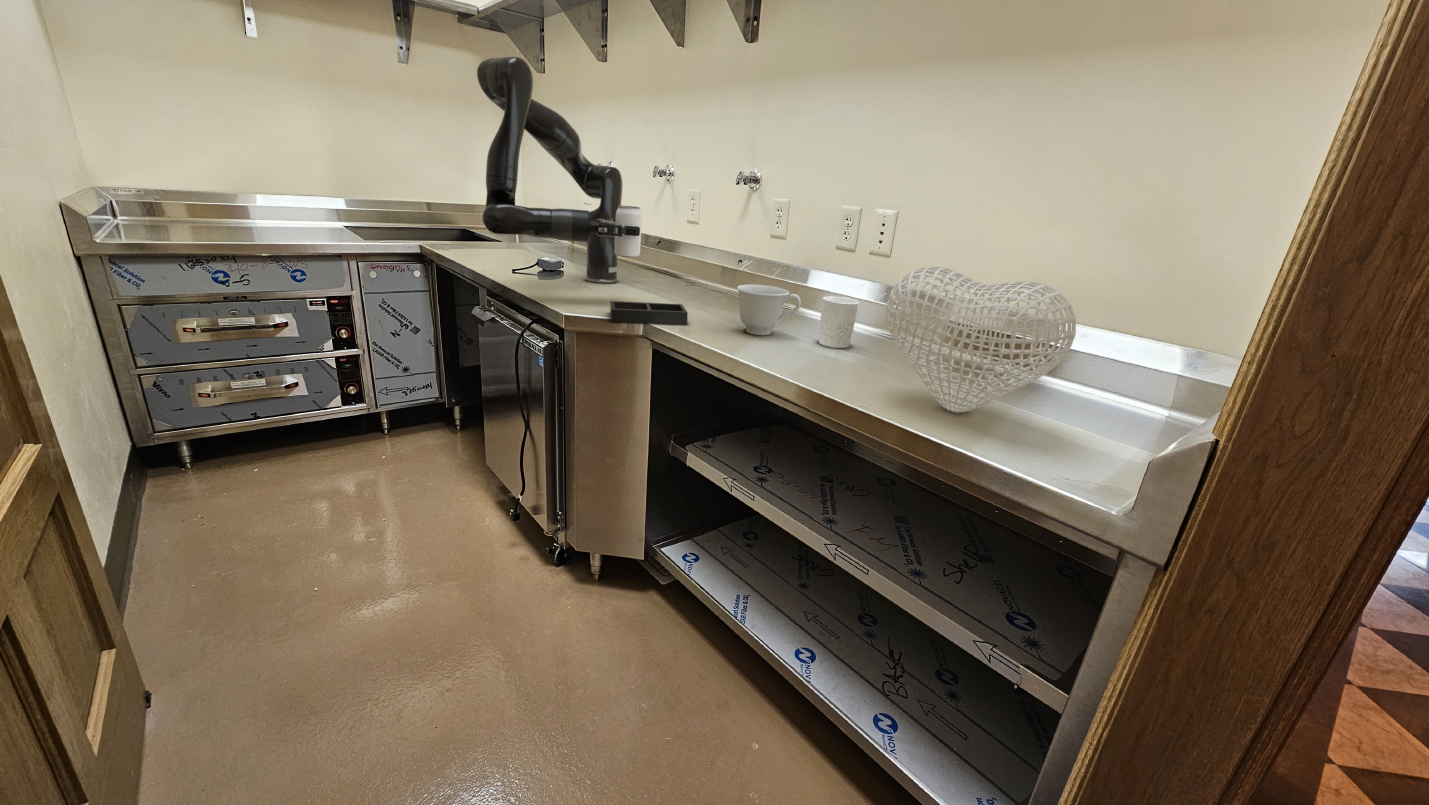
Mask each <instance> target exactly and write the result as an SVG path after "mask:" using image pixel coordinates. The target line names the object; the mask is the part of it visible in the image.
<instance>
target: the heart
mask: <svg viewBox="0 0 1429 805" xmlns="http://www.w3.org/2000/svg"><path fill="white" fill-rule="evenodd" d="M939 275H940V276H939ZM929 277H930V278H931V279H929V280H928V279H927V278H929ZM937 280H938V281H939V282H940V283H938V282H935V281H937ZM913 283H915V284H914V285H913ZM923 283H924V285H923ZM912 285H913V286H912ZM928 285H929V287H928V289H926V287H927V286H928ZM948 286H951V289H950V288H948ZM957 289H958V290H960V291H959V292H958V291H957ZM934 290H936V291H937V292H935V291H934ZM914 291H916V295H915V297H913V296H912V295H913V294H914ZM921 293H922V294H924V295H925V297H924V299H921V298H919V297H920V296H921ZM941 293H945V294H944V296H943V295H941ZM965 293H968V295H966V294H965ZM1015 294H1017V295H1015ZM1021 294H1022V295H1021ZM1038 294H1040V295H1038ZM952 295H953V297H952V298H953V299H950V297H951V296H952ZM973 295H974V296H973ZM929 297H933V298H934V300H933V302H929V301H928V299H929ZM960 299H961V300H960ZM938 300H942V301H943V303H942V305H941V306H938V305H937V303H938ZM959 300H960V302H959ZM979 301H981V302H979ZM986 301H989V303H987V304H985V303H986ZM1021 301H1022V302H1025V303H1026V305H1022V306H1021V305H1020V302H1021ZM910 302H913V305H912V307H910ZM995 302H996V303H995ZM1006 302H1007V304H1006ZM1010 302H1013V303H1012V304H1010ZM947 303H949V304H951V306H950V308H949V309H948V308H946V306H947ZM971 303H972V304H971ZM1041 303H1043V304H1044V305H1045V306H1046V307H1042V306H1040V305H1041ZM917 304H920V305H922V308H921V310H920V311H919V310H917ZM894 306H895V308H894ZM926 306H928V307H931V309H930V313H928V312H925V309H926ZM956 306H958V307H959V308H958V310H957V312H955V308H956ZM899 307H900V309H899ZM935 309H937V310H939V314H938V315H936V314H933V313H934V310H935ZM985 309H986V311H985ZM1029 309H1030V310H1035V314H1034V315H1033V314H1031V313H1030V312H1029ZM964 310H965V313H964V314H963V312H964ZM992 310H993V311H995V312H994V313H993V314H992ZM1012 310H1014V311H1015V316H1009V315H1010V313H1011V311H1012ZM1063 310H1064V312H1063ZM984 311H985V313H984ZM1001 311H1006V312H1005V313H1004V314H1003V315H1001ZM1019 311H1020V312H1019ZM899 313H900V314H899ZM905 313H906V317H905ZM943 313H946V314H947V316H946V318H942V316H943ZM1050 313H1051V314H1052V317H1053V318H1049V314H1050ZM1057 313H1059V317H1060V318H1058V317H1057ZM1064 313H1065V315H1064ZM917 314H918V318H917ZM971 314H972V315H971ZM1023 314H1025V315H1024V316H1022V315H1023ZM952 316H954V319H953V321H952V322H951V318H952ZM1065 316H1066V317H1065ZM912 318H913V320H912ZM925 318H927V320H925ZM960 319H962V320H961V321H960ZM885 320H886V324H887V329H888V331H889V334H890V335H891V338H892V340H893V341H894V343H895V345H896V347H897V348H898V350H899V351H900V353H901V354H902V355H903V357H904V358H905V360H906V361H907V362H908V363H909V365H910V366H911V367H912V369H913V370H914V372H915V373H916V374H917V376H918V377H919V378H920V380H921V382H923V384H924V385H925V387H926V388H927V390H928V391H929V392H930V394H931V395H932V396H933V398H934V399H935V400H936V401H937V403H938V404H940V405H941V407H943V409H945V410H947V411H949V412H952V413H965V412H969V411H972V410H974V409H977V408H980V407H982V406H984V405H986V404H988V403H990V402H992V401H994V400H996V399H998V398H1000V397H1003V396H1005V395H1007V394H1009V393H1012V392H1014V391H1016V390H1018V389H1021V388H1022V387H1025V386H1027V385H1029V384H1031V383H1032V382H1035V381H1037V380H1038V379H1040V378H1042V377H1043V376H1045V375H1047V374H1049V373H1050V371H1052V370H1053V369H1054V368H1055V367H1056V366H1058V365H1059V364H1060V363H1061V362H1062V360H1064V358H1065V357H1066V355H1067V354H1068V353H1069V352H1070V350H1071V348H1072V345H1073V343H1074V340H1075V337H1076V333H1077V318H1076V314H1075V311H1074V310H1073V307H1072V305H1071V303H1070V301H1069V300H1068V299H1067V298H1066V297H1065V296H1064V295H1063V294H1062V293H1061V292H1060V291H1059V290H1057V289H1055V288H1053V287H1051V286H1049V285H1047V284H1044V283H1040V282H1034V281H1011V282H1005V283H1004V282H1003V283H995V284H993V283H992V284H987V283H986V284H984V283H982V282H978V281H976V280H974V279H972V278H970V277H968V276H966V275H965V274H963V273H960V272H958V271H957V270H954V269H951V268H947V267H940V266H927V267H922V268H921V267H920V268H918V269H914V270H913V271H911V272H909V273H907V274H905V275H904V276H903V277H901V278H900V280H898V281H897V283H896V284H895V285H894V286H893V287H892V289H891V291H890V293H889V296H888V299H887V301H886V308H885ZM931 320H932V321H935V322H932V321H931ZM986 320H987V322H986ZM1038 320H1039V321H1040V320H1041V321H1043V326H1038ZM977 321H978V322H977ZM995 321H996V323H995ZM1000 321H1001V324H1000V326H999V322H1000ZM1009 321H1013V323H1012V326H1011V327H1008V324H1009ZM1029 321H1032V323H1033V327H1027V324H1028V322H1029ZM959 322H960V323H959ZM968 322H969V323H968ZM1018 322H1019V323H1023V327H1018ZM1050 322H1053V323H1051V324H1050ZM994 323H995V326H994ZM929 324H930V325H931V326H930V327H928V326H929ZM939 324H941V326H940V327H939ZM912 325H914V326H915V328H914V330H913V327H912ZM1004 325H1005V327H1004ZM948 327H949V328H948ZM897 328H898V329H897ZM920 328H921V329H922V330H921V329H920ZM933 328H934V329H933ZM943 328H944V329H943ZM952 328H953V332H952V334H951V333H950V332H951V330H952ZM903 331H904V332H903ZM960 331H962V333H961V337H960V336H957V335H958V334H959V332H960ZM978 331H979V333H978ZM993 331H994V334H993ZM998 331H999V333H998ZM1003 331H1004V334H1003ZM1039 331H1041V332H1042V333H1041V336H1040V338H1039V334H1040V332H1039ZM926 332H927V333H928V334H929V335H930V336H929V337H925V335H926ZM1008 332H1010V338H1007V334H1008ZM1017 332H1018V333H1023V334H1022V338H1017ZM1028 332H1032V335H1031V338H1027V333H1028ZM968 334H970V338H966V336H967V335H968ZM987 334H988V335H987ZM937 335H939V336H941V338H940V339H939V338H938V337H936V336H937ZM997 335H998V337H997ZM1045 335H1046V338H1045ZM910 336H912V338H911V337H910ZM977 336H978V337H979V338H976V337H977ZM1002 336H1003V337H1002ZM1054 336H1055V337H1054ZM946 338H949V339H950V340H949V341H948V343H946V342H944V339H946ZM919 339H920V340H919ZM955 340H957V341H960V342H959V343H958V345H957V346H954V342H955ZM923 343H926V345H928V347H924V346H923ZM964 343H967V344H969V345H968V347H967V348H964ZM985 343H988V345H985ZM1052 343H1053V345H1052V347H1050V345H1051V344H1052ZM995 344H998V347H996V346H995ZM1006 344H1009V348H1005V346H1006ZM1016 344H1021V349H1015V348H1016V347H1015V346H1016ZM1026 344H1030V348H1029V349H1025V347H1026ZM1038 344H1039V347H1038ZM1043 344H1044V346H1043ZM1058 345H1059V347H1057V346H1058ZM937 346H939V347H938V349H937V348H936V347H937ZM974 346H977V347H979V348H978V350H977V349H974ZM943 347H944V348H943ZM1037 347H1038V348H1037ZM942 348H943V350H942ZM983 348H987V349H988V350H983ZM1056 348H1057V349H1056ZM948 349H949V352H948V353H947V354H946V353H945V352H946V351H947V350H948ZM953 350H955V351H954V352H953ZM994 350H995V351H994ZM958 352H959V357H958V356H956V355H957V354H958ZM922 353H924V354H925V355H926V356H925V355H922ZM931 354H935V355H933V356H931ZM974 355H976V356H975V358H974ZM993 355H995V356H993ZM996 355H998V356H996ZM1004 355H1009V359H1008V358H1003V356H1004ZM1014 355H1019V358H1015V359H1014ZM1024 355H1028V357H1027V358H1026V359H1025V358H1024ZM968 356H970V358H968ZM1034 356H1035V357H1034ZM1045 356H1047V357H1046V358H1044V357H1045ZM943 358H948V362H945V361H943ZM979 358H980V360H979ZM984 358H987V359H986V361H984ZM955 360H956V361H959V365H956V364H954V362H955ZM994 360H996V361H994ZM1049 360H1050V361H1049ZM1048 361H1049V362H1048ZM935 363H936V365H935ZM965 363H970V368H968V367H964V366H965ZM1017 363H1019V364H1018V365H1017ZM930 364H931V365H930ZM1026 364H1028V365H1029V366H1026V367H1024V366H1025V365H1026ZM976 365H979V366H981V369H982V370H979V369H975V368H976ZM1006 365H1008V367H1007V366H1006ZM1000 366H1001V367H1002V368H1001V367H1000ZM1012 366H1013V367H1012ZM944 368H947V370H946V369H944ZM953 368H954V369H959V372H953ZM987 368H989V369H992V370H993V371H992V370H991V371H989V370H988V371H987ZM1031 369H1032V370H1031ZM931 370H933V372H934V373H932V372H931ZM964 371H967V372H969V374H968V375H965V374H964ZM976 374H979V376H978V377H976ZM1001 374H1003V375H1002V376H1001ZM994 376H996V377H994ZM982 377H984V379H982ZM953 378H958V379H957V380H955V379H953ZM935 379H936V381H935ZM963 379H964V380H966V382H963ZM942 381H943V382H942ZM946 381H947V382H946ZM970 381H971V382H970ZM969 382H970V383H969ZM978 384H980V385H982V386H981V387H980V386H977V385H978ZM998 384H999V385H998ZM962 388H963V389H962ZM986 388H987V389H986ZM966 389H967V390H966ZM953 390H954V391H953ZM952 397H954V398H952Z"/></svg>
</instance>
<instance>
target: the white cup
mask: <svg viewBox="0 0 1429 805" xmlns="http://www.w3.org/2000/svg"><path fill="white" fill-rule="evenodd" d="M859 305H860V301H859V300H857V299H853V298H849V297H843V296H831V295H829V296H823V297H822V301H821V311H820V319H819V338H818V343H819V344H820V345H821V346H824V347H827V348H834V349H846V348H847V349H848V348H849V347H850V345H851V340H852V335H853V332H854V328H855V323H856V319H857V314H858V311H859Z"/></svg>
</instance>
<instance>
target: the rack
mask: <svg viewBox="0 0 1429 805" xmlns="http://www.w3.org/2000/svg"><path fill="white" fill-rule="evenodd" d="M609 304H610V305H609V315H610V322H611V323H623V324H624V323H625V324H650V325H651V324H652V325H677V326H678V325H679V326H680V325H681V326H688V314H689V313H688V311H687V309H686V307H685V306H684V305H683V303H665V302H664V303H663V302H639V301H620V300H619V301H617V300H610V302H609Z"/></svg>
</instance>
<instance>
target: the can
mask: <svg viewBox="0 0 1429 805" xmlns="http://www.w3.org/2000/svg"><path fill="white" fill-rule="evenodd" d="M642 222H643V213H642V210H641V207H639V206H634V205H633V206H632V205H622V204H621V205H619V206H618V209H617V211H616V224H617V225H625V226H636V227H639V228H640V235H639V236H630V235H624V236H621V237H619V236H615V248H614V253H615V255H617V257H624V258H639V256H640V255H641V244H642V243H641V241H642V239H641V238H642V225H643V224H642ZM616 232H617V233H618V228H616Z"/></svg>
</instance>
